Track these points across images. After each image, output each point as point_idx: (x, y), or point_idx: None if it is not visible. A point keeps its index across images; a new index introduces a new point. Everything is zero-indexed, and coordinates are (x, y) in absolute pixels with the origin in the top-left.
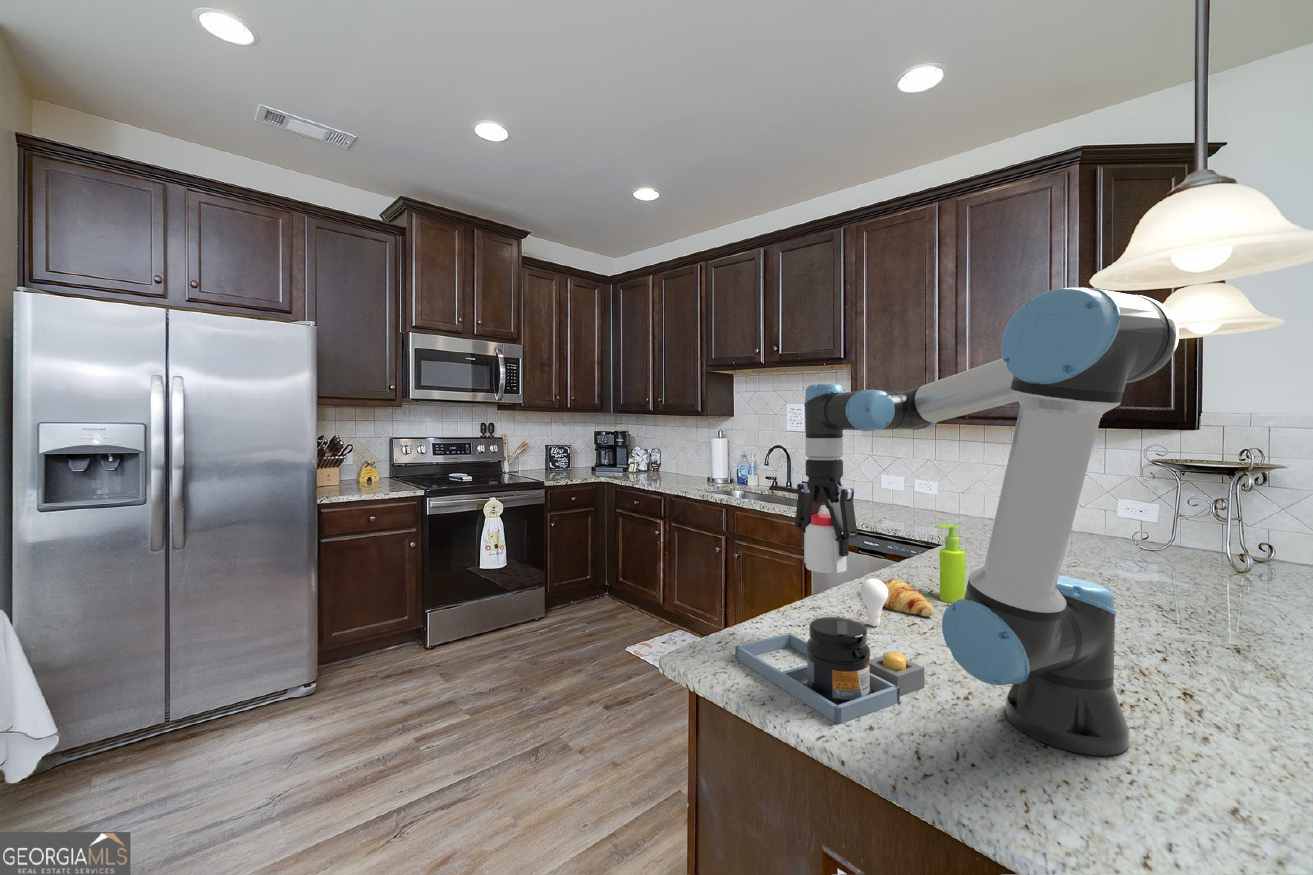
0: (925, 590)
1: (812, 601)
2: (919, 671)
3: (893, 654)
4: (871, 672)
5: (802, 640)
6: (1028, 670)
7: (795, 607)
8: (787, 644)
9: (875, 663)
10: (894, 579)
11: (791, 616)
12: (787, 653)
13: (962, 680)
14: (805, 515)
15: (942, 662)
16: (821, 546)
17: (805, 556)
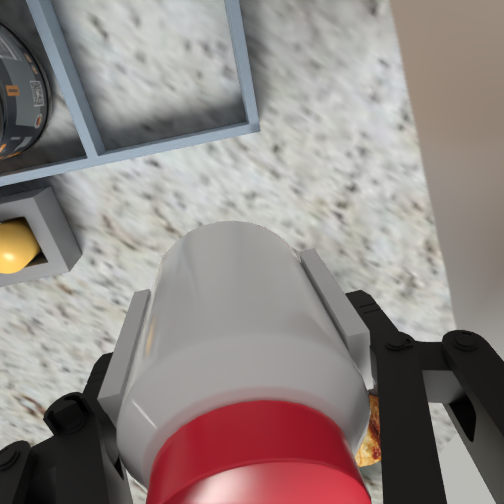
0: (379, 479)
1: (441, 300)
2: None
3: (13, 257)
4: (24, 195)
5: (206, 135)
6: None
7: (433, 251)
8: (245, 113)
9: (18, 211)
10: (373, 459)
11: (394, 217)
12: (212, 92)
13: (34, 339)
14: (427, 444)
15: (106, 350)
16: (157, 312)
17: (315, 263)
